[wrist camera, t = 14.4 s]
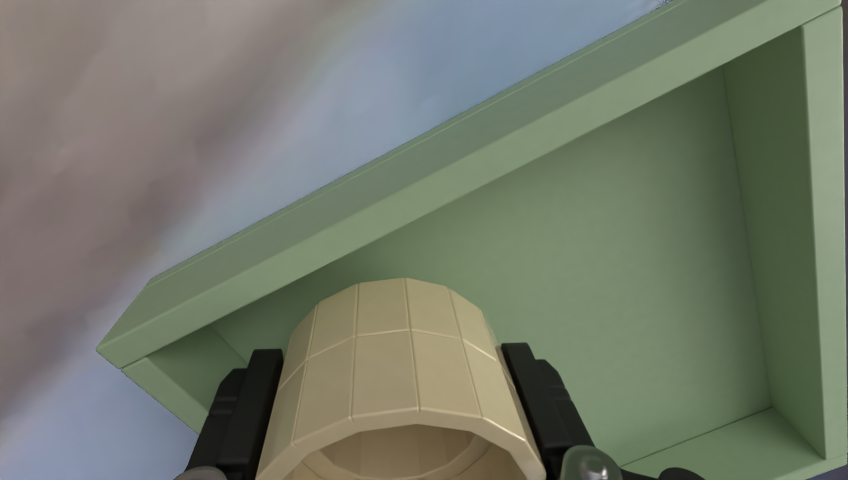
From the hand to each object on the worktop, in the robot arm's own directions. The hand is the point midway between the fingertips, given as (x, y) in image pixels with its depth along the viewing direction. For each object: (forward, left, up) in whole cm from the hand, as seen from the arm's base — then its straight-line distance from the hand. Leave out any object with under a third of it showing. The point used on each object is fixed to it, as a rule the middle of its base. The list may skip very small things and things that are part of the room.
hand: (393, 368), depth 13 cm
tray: (+3, +3, -2) cm, 5 cm away
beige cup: (0, 0, -1) cm, 1 cm away
